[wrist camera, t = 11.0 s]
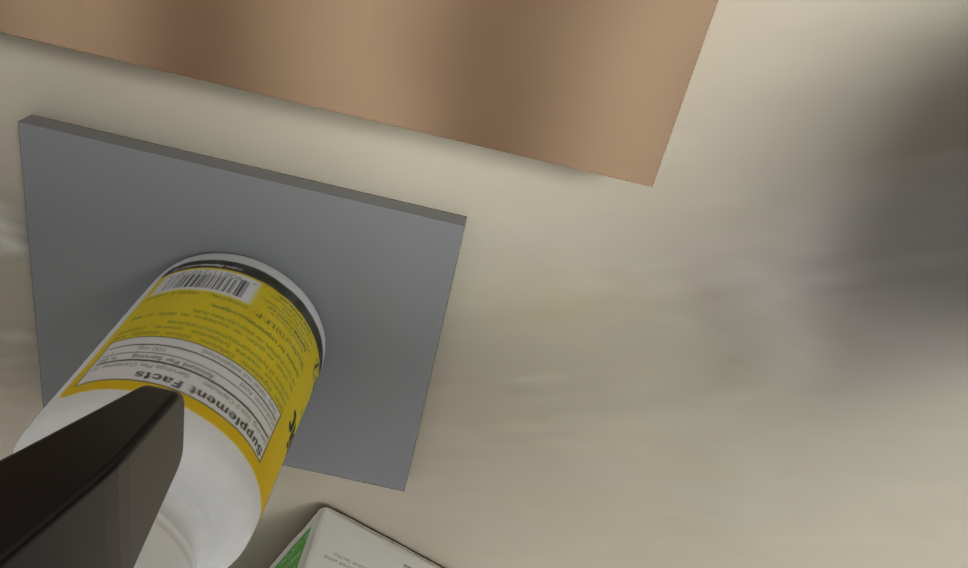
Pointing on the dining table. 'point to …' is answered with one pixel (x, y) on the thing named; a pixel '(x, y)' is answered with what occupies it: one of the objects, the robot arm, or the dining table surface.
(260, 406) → the supplement bottle
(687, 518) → the dining table surface
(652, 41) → the wooden block with hole
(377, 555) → the skincare box
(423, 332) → the rubber mat
